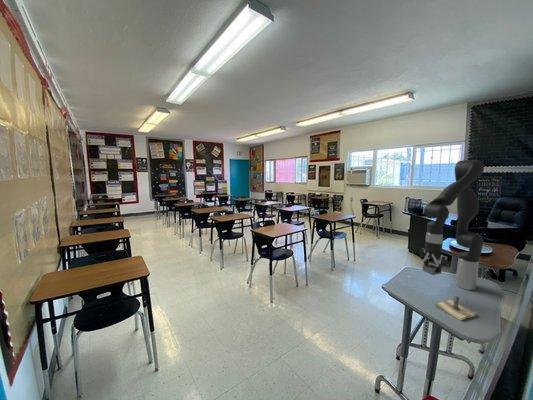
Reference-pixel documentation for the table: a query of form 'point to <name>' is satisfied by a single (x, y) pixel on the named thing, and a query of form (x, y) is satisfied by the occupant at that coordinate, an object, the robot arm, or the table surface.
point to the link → (430, 269)
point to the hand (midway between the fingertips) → (431, 269)
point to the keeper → (456, 309)
